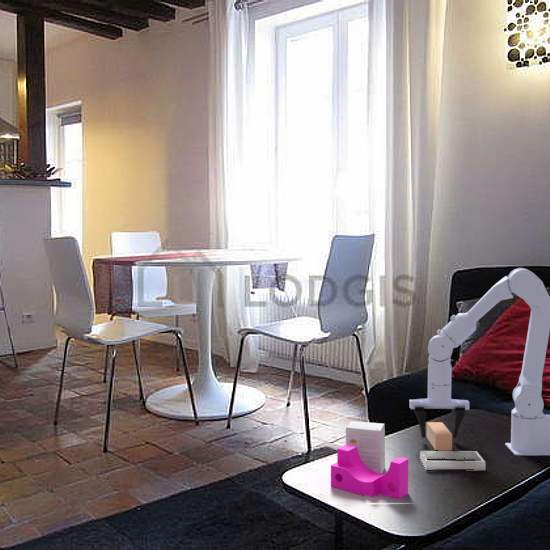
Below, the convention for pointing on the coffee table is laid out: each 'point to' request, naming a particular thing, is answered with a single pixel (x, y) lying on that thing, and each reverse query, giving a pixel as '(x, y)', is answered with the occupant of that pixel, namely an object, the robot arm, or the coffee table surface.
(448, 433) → the peach rectangular prism
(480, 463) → the gray rectangular tray
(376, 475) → the toy block
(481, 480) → the coffee table surface
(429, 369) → the robot arm
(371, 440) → the small box
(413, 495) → the coffee table surface
